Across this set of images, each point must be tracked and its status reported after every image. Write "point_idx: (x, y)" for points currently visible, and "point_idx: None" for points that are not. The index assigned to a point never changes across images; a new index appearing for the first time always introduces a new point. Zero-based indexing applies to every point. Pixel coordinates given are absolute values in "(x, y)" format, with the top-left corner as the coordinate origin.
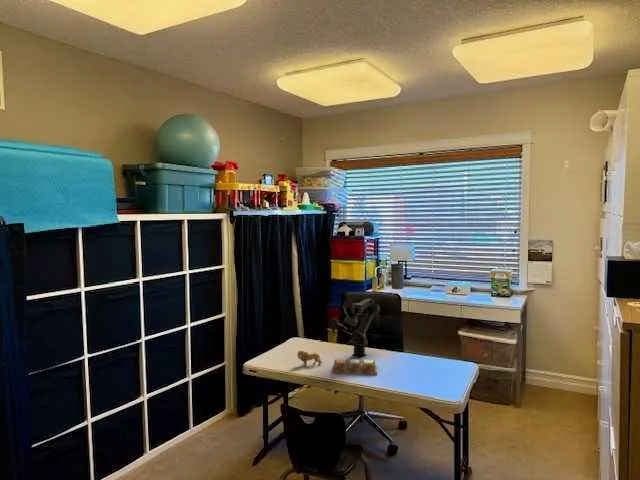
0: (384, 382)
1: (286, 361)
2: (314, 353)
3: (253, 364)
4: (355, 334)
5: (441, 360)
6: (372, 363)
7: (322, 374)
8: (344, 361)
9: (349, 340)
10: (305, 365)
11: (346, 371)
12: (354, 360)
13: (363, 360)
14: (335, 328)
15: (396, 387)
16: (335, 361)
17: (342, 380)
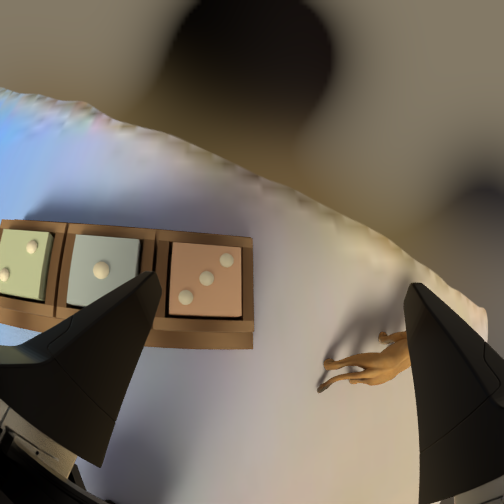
0: (26, 148)
1: None
2: (392, 364)
3: (482, 317)
4: None
5: None
6: (7, 229)
7: (293, 232)
8: (179, 260)
9: (103, 306)
10: (383, 335)
11: (166, 230)
12: (102, 274)
13: (44, 310)
14: (489, 393)
15: (14, 117)
16: (246, 288)
17: (191, 159)
